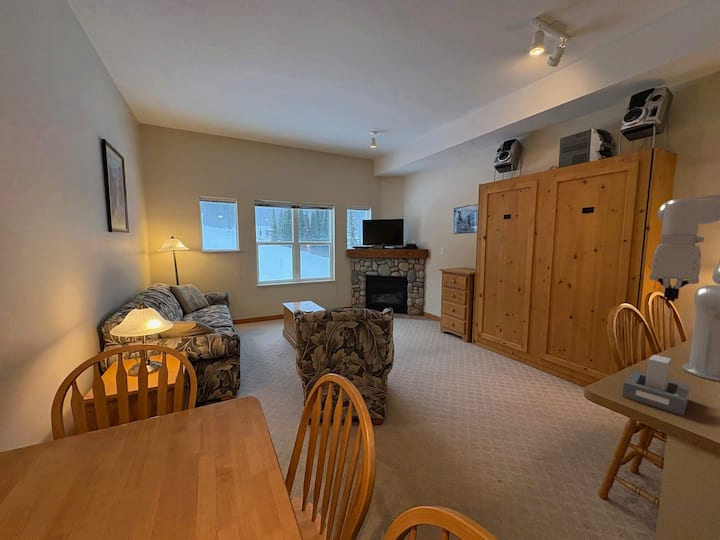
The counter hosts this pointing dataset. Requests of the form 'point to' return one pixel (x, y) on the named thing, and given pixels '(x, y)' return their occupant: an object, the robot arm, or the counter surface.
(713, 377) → the robot arm
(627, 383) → the port block
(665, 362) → the skincare box
